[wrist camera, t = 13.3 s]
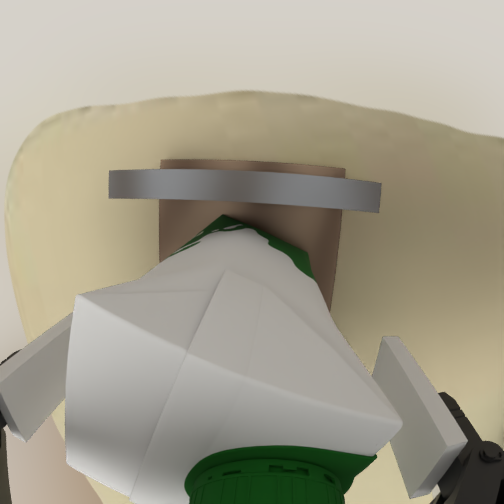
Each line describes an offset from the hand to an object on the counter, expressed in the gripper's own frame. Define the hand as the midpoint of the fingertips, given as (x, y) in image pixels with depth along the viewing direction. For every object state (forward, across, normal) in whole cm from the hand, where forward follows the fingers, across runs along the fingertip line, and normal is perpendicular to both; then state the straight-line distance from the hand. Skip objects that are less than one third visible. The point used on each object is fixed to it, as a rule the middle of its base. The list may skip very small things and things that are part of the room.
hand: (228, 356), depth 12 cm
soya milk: (+12, 0, 0) cm, 12 cm away
